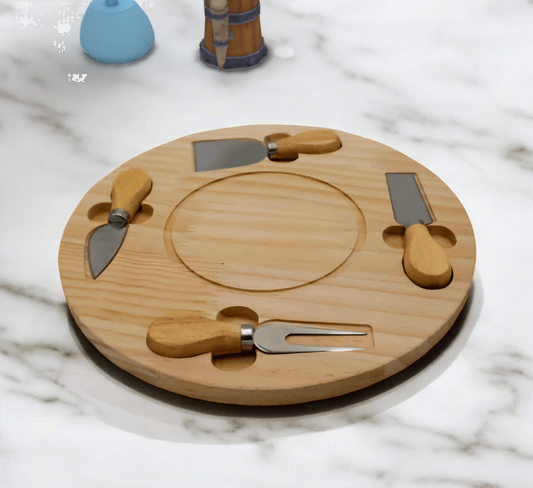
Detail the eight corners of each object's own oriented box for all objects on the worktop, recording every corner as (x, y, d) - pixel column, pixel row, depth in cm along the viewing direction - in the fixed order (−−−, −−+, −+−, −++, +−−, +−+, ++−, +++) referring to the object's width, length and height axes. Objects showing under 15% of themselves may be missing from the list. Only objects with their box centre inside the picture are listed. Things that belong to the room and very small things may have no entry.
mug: (257, 88, 124) (257, -16, 110) (184, 81, 126) (174, -22, 112) (274, 40, 138) (275, -58, 124) (207, 34, 140) (201, -63, 126)
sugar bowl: (107, 26, 142) (97, -27, 134) (168, 39, 138) (162, -15, 130) (68, 58, 132) (55, 3, 124) (133, 72, 128) (124, 16, 120)
